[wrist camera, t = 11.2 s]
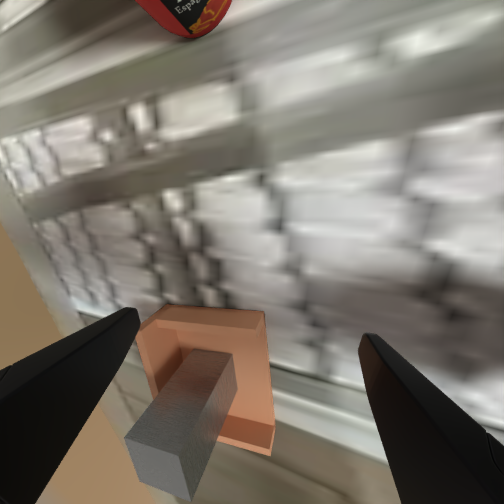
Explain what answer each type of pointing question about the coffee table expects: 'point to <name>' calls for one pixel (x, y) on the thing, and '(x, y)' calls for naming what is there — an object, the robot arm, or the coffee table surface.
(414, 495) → the robot arm
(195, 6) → the canned food
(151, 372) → the coupler dock
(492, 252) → the coffee table surface
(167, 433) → the block
